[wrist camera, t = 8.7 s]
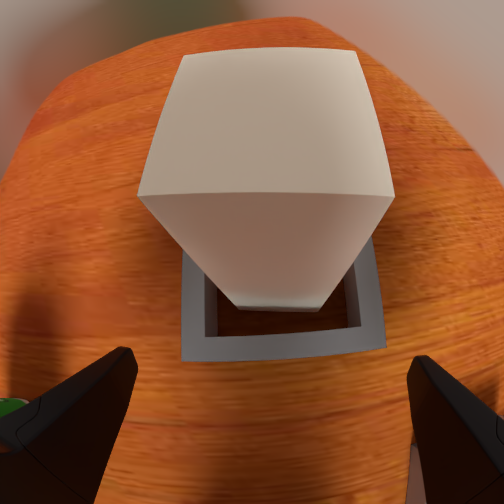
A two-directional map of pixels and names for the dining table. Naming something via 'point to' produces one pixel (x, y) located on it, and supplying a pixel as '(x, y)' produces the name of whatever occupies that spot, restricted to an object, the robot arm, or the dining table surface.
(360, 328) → the grey square frame
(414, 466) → the cap with slat
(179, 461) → the dining table surface
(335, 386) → the dining table surface
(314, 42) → the dining table surface
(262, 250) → the white rectangular block
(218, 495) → the dining table surface
